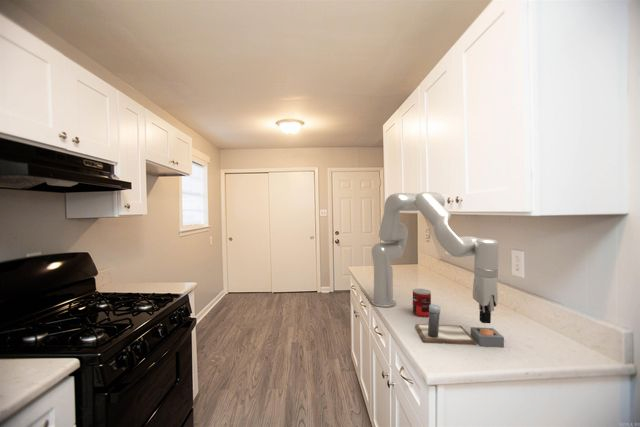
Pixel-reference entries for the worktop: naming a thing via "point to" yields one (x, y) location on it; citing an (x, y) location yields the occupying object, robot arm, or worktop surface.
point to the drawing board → (446, 335)
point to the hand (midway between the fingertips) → (485, 322)
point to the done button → (486, 332)
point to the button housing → (487, 338)
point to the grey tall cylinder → (433, 320)
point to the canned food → (421, 302)
